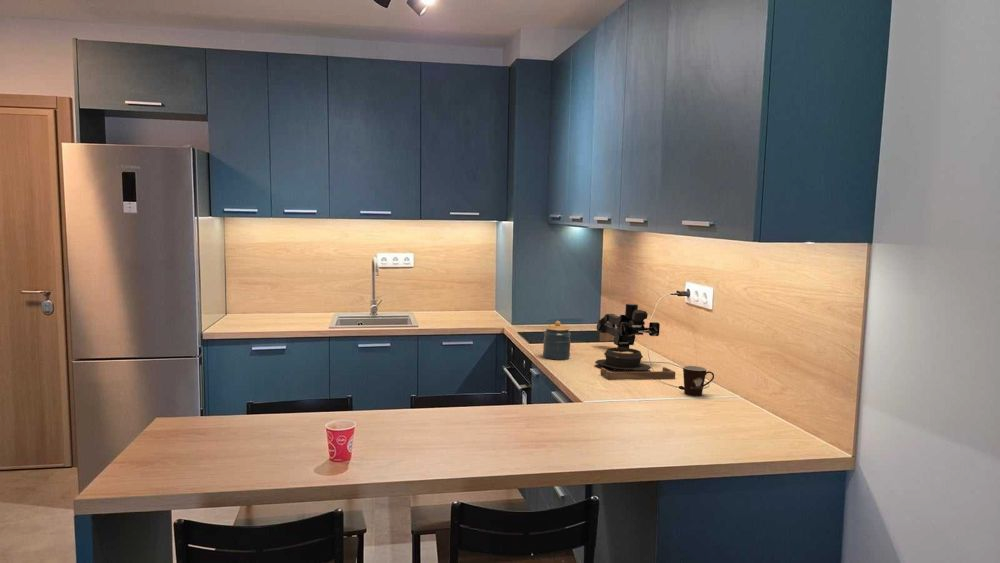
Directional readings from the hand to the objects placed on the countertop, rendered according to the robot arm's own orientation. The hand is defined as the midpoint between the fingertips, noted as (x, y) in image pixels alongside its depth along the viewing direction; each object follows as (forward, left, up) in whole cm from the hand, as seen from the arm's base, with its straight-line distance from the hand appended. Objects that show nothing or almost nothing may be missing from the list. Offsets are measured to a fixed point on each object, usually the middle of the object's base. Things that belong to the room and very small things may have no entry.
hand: (647, 332), depth 288 cm
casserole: (0, -11, -17) cm, 20 cm away
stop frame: (+15, -11, -17) cm, 25 cm away
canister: (-25, -34, -17) cm, 46 cm away
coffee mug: (+45, 0, -17) cm, 48 cm away
